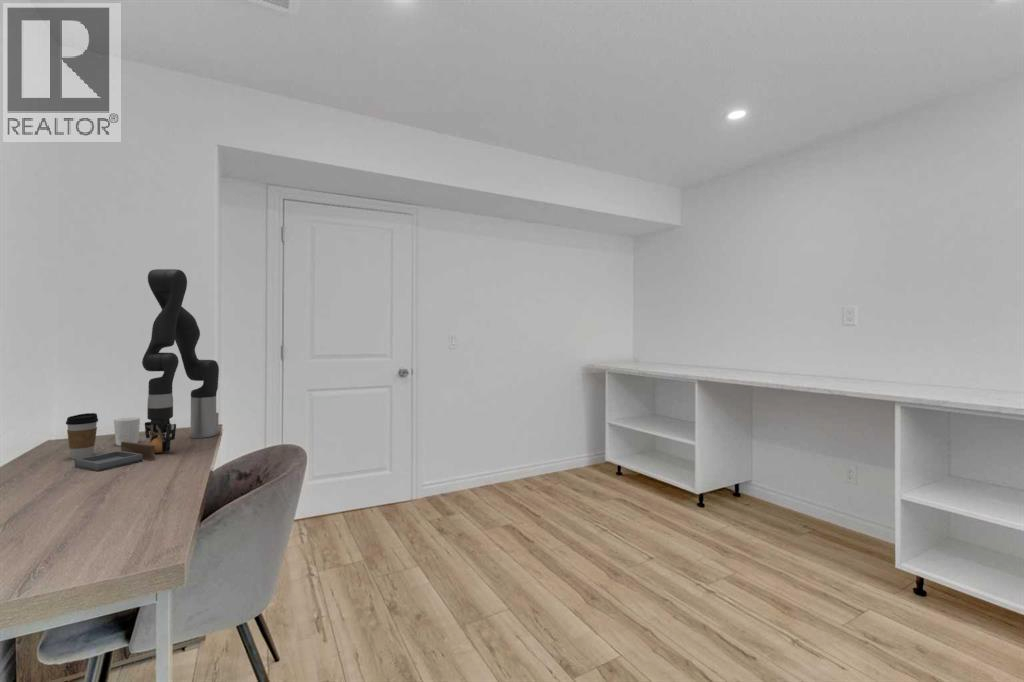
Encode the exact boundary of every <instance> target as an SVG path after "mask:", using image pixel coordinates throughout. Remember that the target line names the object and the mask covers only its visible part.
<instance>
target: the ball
mask: <svg viewBox="0 0 1024 682" xmlns="http://www.w3.org/2000/svg"><path fill="white" fill-rule="evenodd" d="M165 438H166V436H165ZM162 442H163V441H162V438H161V437H160V436H159V437H157V438H155V439H153V440H152V442H151V443H150V444H149V445H154V446H155V453H157V454H163V453H164V452H163V451H162Z"/></svg>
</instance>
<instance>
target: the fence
mask: <svg viewBox="0 0 1024 682" xmlns="http://www.w3.org/2000/svg"><path fill="white" fill-rule="evenodd" d="M120 451H126V452H132V453H139V454H143V456H142V460H144V461H145V460H146V461H155V460H156V459H155V457H156V456H155V446H154V445H150V444H147V443H140V442H138V443H133V442H126V441H124V442H121V446H120Z"/></svg>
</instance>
